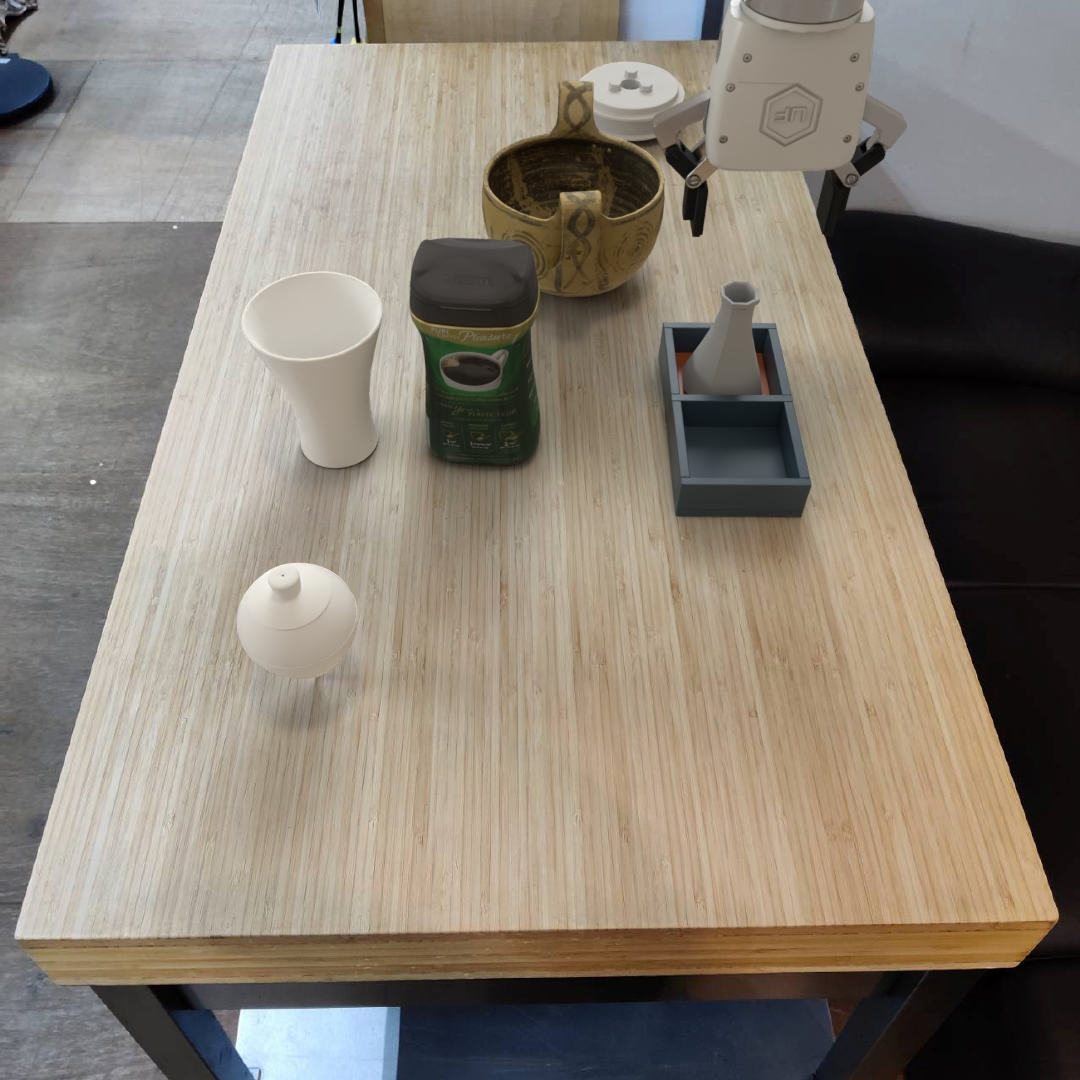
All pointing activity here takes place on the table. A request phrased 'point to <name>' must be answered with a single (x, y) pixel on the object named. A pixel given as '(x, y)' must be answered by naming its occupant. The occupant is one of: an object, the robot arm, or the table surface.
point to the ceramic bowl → (576, 200)
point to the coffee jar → (477, 348)
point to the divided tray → (732, 435)
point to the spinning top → (297, 620)
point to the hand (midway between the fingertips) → (759, 226)
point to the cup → (321, 358)
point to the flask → (727, 348)
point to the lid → (631, 98)
